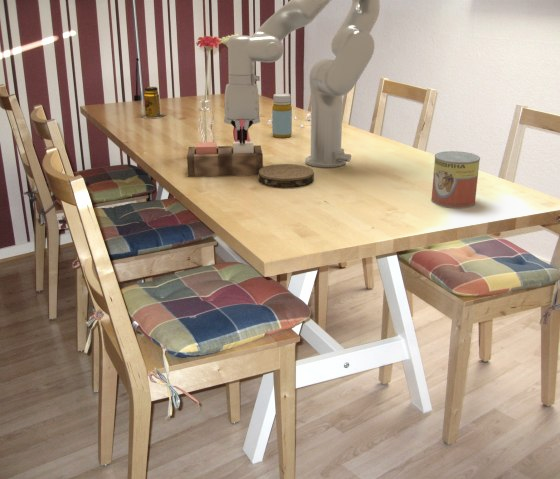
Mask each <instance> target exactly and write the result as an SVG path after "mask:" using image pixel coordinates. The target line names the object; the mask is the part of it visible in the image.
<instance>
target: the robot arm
mask: <svg viewBox="0 0 560 479" xmlns="http://www.w3.org/2000/svg"><path fill="white" fill-rule="evenodd" d="M331 1H332V0H289V1H288V2H286V3H285V4H284V5H283V6H282V7H280V9H278V10H277V11H275V12H274V13H273V14H272V15H271V16H270V17H269V18H268V19H266V20H265V21H264V22H263V23H262V24H261V26H260V27H259V28H257V30H256V31H255V32H254V34H253V35H252V36H250V35H232V36H229V38H228V40H227V42H228V43H227V47H228V48H227V54H228V66H227V67H228V83H227V84H226V85H225V90H224V106H223V107H224V108H223V109H224V110H223V111H224V118H223V123H224V124H229V125H232V126H233V127H234V129H236V137H237V138H236V140H237V141H238V142H240V144H241V143H243V144H245V142H246V141H248V130H249V128H251V126H252V125H255V124H259V123H261V119H260V118H261V117H260V97H259V96H260V95H259V88H258V84H257V83H256V82H258V81H259V82H260V79H261V78H260V75H259V76H258V75H256V74H255V63H256V62H261V63H267V64H268V63H269V64H270V63H274V62H277V61H279V60H280V59H281V58H282V56H283V54H284V45H283V43H282V41H283V40H284V38H286V37H287V36H288V35H289V34H291V33H293V32H294V31H297V30H298V29H301V28H303V27H305V26H307V25H309V24H311V23H312V22H313V21H314V20H315V19H316V17H318V15H319V14H320V13H321V12H322V11H323V10H324V9H325V8H326V7H327V6H328V5H329V4H330V2H331ZM380 1H381V0H352V3H351V6H350V8H349V11H348V13H347V15H346V16H345V18H344V20H343V22H342V23H341V25H340V27H339V28H338V30H337V31H336V32H335V34H334V36H333V38H332V39H331V43H330V45H331V46H330V47H331V48H330V49H331V51H332V54H334V56H335V58H334V59H331V58H323V59H319V60H318V61H316V62H315V63H313V66H312V67H311V68H310V71H309V76H308V77H309V89H310V99H311V101H310V102H311V103H310V104H311V111H310V115H311V117H310V155H309V156H307V157H305V164H307V165H308V166H312V167H316V168H336V167H341V166H344V165H345V164H347V163H346V162H348V163H350V162H351V160H352V155H351V154H349V153H345V148H342V129H343V128H342V127H343V107H344V106H343V96H345V95H347V94H349V93H350V92H351V91H352V89H354V87H355V86H356V84H357V82H359V79H360V78H361V76H362V74H363V73H364V71H365V69H366V68H367V67H368V64H369V63H370V61H371V59H372V58H373V55H374V52H375V51H374V50H375V40H374V38H373V35H372V34H371V32H372V30H373V28H374V26H375V25H376V23H377V21H378V18H379V15H380V8H381V4H380ZM240 121H244V123H243V127H242V126H241V125H240Z"/></svg>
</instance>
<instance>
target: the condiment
mask: <svg viewBox="0 0 560 479" xmlns="http://www.w3.org/2000/svg"><path fill="white" fill-rule="evenodd" d="M158 89H159V88H158V87H157V86H147V87H144V95H143V97H144V112H145V116H143V118H144V119H159V118H162V117H164V116H166V115H167V114H164V113H163V114H161V106H160V105H161V104H160V95H159V90H158Z"/></svg>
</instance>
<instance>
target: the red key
mask: <svg viewBox="0 0 560 479" xmlns="http://www.w3.org/2000/svg"><path fill="white" fill-rule="evenodd" d="M195 147H196V154H217V141H216V142H215V141H214V142H213V141H211V142H206V141H204V142H203V141H202V142H196V143H195Z"/></svg>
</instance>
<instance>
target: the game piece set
mask: <svg viewBox="0 0 560 479" xmlns="http://www.w3.org/2000/svg"><path fill="white" fill-rule="evenodd" d="M292 115H293V116H294V120H297V119H298V117H297V116H296V115H295V112H292ZM270 116H271V117H272V114H270ZM305 120H306V121H307V122H309V121H310V120H311V112H310V113H307V114H306V117H305ZM266 124H267V125H269V124H270V125H272V118H270V119H269V120H268V121H267V123H266ZM299 127H300V129H304V128H305V125H303V124H301V125H300V126H299Z"/></svg>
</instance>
